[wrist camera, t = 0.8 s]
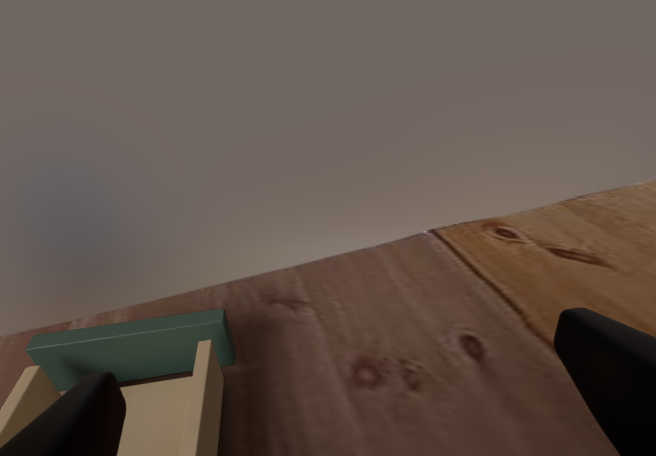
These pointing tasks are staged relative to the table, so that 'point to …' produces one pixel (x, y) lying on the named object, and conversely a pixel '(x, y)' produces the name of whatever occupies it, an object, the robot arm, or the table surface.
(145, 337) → the drawer
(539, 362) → the table surface
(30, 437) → the robot arm
